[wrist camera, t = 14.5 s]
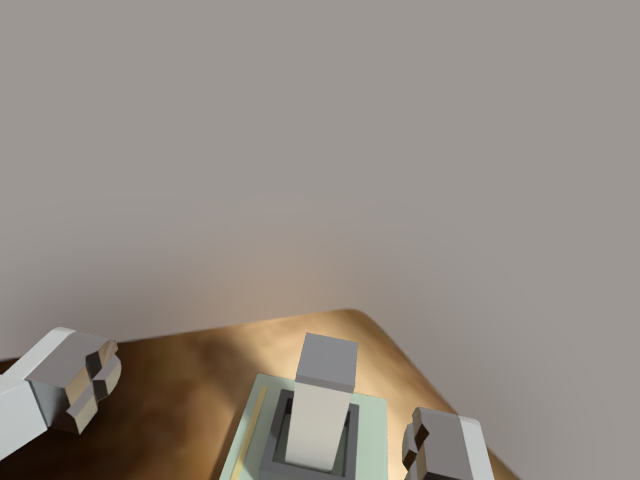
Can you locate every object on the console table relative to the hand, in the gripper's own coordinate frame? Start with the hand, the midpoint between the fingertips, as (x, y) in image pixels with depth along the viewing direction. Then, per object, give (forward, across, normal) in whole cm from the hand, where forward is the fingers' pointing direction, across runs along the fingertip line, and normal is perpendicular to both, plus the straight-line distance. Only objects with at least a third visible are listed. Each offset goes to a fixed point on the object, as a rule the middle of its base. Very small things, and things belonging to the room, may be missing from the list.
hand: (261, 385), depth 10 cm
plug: (+13, -3, +25) cm, 28 cm away
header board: (+13, -3, +26) cm, 29 cm away
